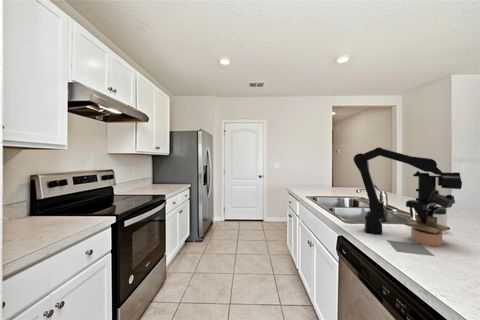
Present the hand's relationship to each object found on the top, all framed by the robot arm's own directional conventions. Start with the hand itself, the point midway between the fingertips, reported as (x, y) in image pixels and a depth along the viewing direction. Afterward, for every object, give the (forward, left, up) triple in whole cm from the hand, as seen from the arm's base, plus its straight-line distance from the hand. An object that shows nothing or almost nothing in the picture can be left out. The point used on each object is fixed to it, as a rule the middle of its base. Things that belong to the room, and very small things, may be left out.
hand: (426, 223), depth 93 cm
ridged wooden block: (0, 0, -2) cm, 2 cm away
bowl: (0, 0, -8) cm, 8 cm away
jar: (+11, +18, -8) cm, 23 cm away
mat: (-10, -10, -8) cm, 16 cm away
